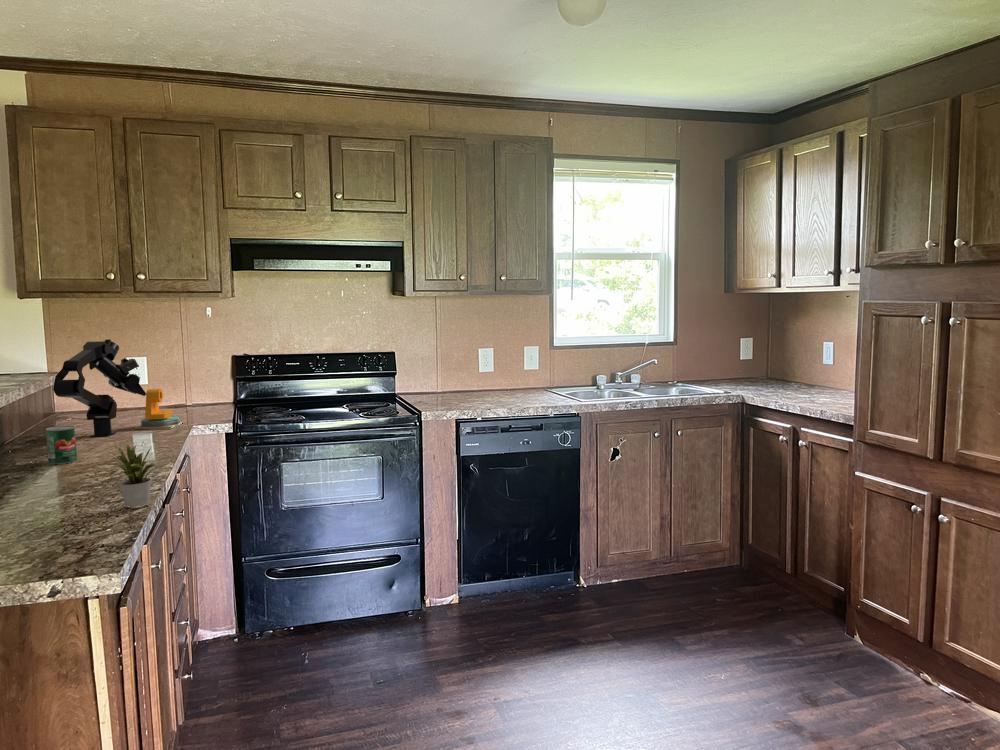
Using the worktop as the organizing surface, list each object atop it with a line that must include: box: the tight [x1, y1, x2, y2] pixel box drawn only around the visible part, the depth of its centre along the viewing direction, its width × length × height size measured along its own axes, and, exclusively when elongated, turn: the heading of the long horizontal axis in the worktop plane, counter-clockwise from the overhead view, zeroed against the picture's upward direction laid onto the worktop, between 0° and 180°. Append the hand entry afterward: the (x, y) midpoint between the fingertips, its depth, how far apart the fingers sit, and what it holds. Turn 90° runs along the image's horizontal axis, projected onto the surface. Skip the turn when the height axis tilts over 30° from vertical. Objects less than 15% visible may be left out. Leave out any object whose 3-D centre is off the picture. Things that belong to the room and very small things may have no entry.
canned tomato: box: [45, 425, 78, 466], centre depth 236 cm, size 8×8×11 cm
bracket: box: [144, 388, 174, 420], centre depth 297 cm, size 11×7×12 cm, turn 8°
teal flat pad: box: [134, 415, 187, 430], centre depth 298 cm, size 14×14×3 cm
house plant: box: [106, 443, 163, 507], centre depth 184 cm, size 14×14×16 cm
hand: (141, 394), depth 292 cm, fingers open, 9 cm apart
